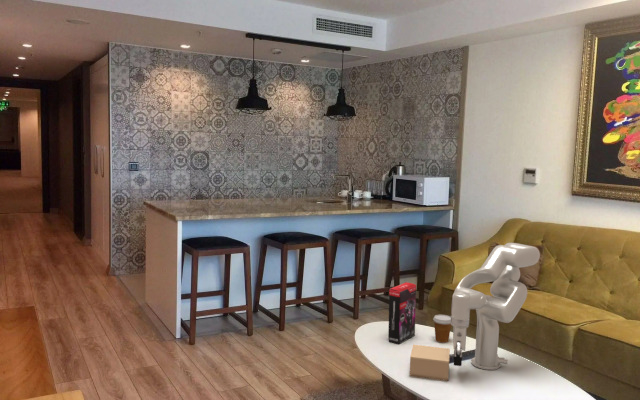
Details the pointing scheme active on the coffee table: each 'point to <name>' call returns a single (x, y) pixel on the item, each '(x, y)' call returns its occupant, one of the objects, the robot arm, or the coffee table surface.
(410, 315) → the graphics card box
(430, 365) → the carton
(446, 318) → the disposable coffee cup
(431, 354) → the carton lid
